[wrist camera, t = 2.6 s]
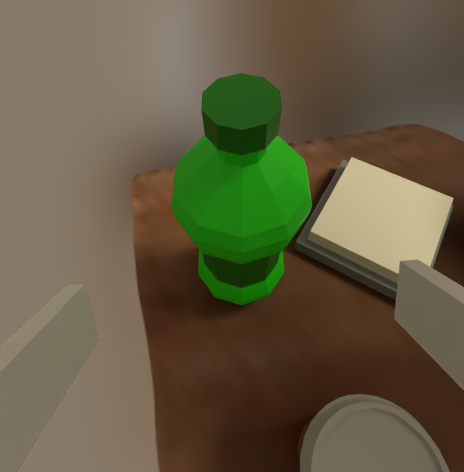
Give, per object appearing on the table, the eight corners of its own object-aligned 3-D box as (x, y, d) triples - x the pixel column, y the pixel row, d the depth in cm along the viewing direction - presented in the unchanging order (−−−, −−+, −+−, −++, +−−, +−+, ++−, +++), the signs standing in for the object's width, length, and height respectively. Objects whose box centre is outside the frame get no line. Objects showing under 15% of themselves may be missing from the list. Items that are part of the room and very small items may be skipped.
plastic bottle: (233, 333, 35) (221, 219, 13) (183, 263, 39) (109, 86, 17) (300, 282, 37) (386, 114, 15) (247, 222, 42) (254, 21, 19)
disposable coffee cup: (362, 388, 32) (422, 383, 21) (398, 506, 28) (497, 573, 17) (271, 403, 32) (287, 406, 21) (293, 526, 27) (328, 607, 17)
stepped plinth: (444, 213, 42) (463, 195, 38) (411, 308, 36) (430, 298, 32) (339, 168, 45) (347, 149, 42) (293, 248, 40) (298, 233, 36)
